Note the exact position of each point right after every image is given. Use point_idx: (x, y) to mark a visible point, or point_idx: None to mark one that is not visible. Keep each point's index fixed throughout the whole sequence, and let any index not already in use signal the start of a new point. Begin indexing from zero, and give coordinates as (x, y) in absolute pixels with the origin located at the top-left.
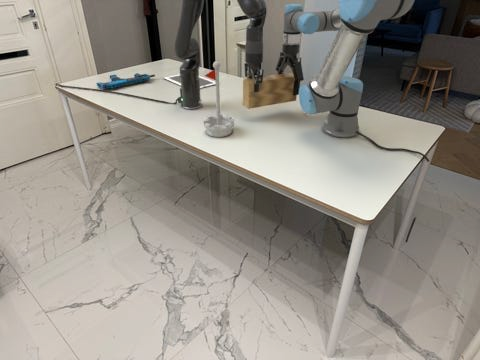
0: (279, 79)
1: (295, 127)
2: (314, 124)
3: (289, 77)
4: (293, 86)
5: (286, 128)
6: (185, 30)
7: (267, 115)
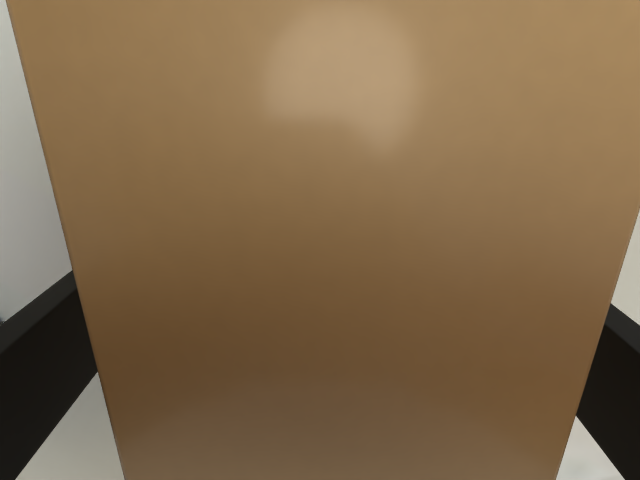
0: (45, 58)
1: (14, 105)
2: (41, 269)
3: (131, 470)
4: (16, 339)
5: (7, 15)
6: None
7: None
